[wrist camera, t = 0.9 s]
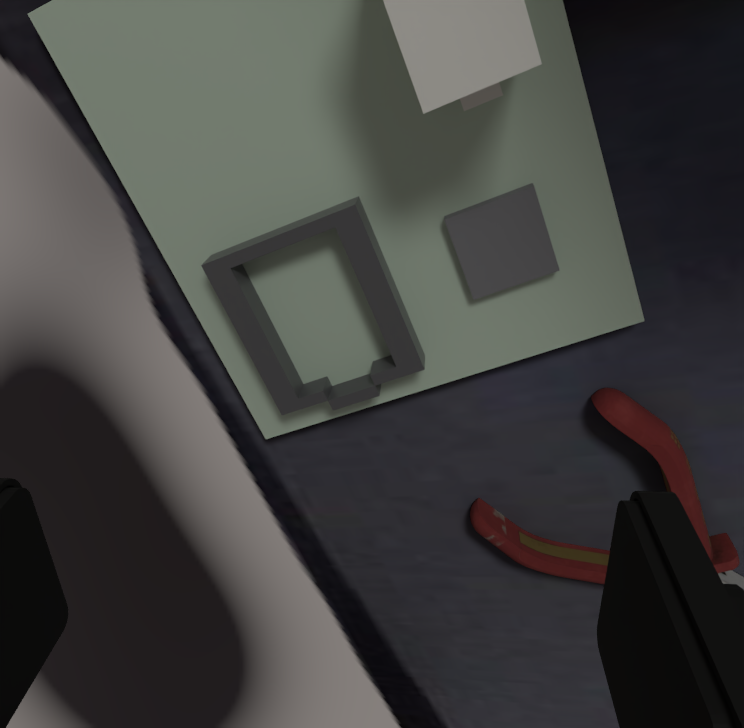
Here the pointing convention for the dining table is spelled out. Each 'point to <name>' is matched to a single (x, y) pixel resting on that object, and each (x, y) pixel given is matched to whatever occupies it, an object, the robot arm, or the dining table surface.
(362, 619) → the dining table surface
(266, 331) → the frame
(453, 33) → the plug
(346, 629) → the dining table surface
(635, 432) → the pliers
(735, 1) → the dining table surface
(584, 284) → the board
